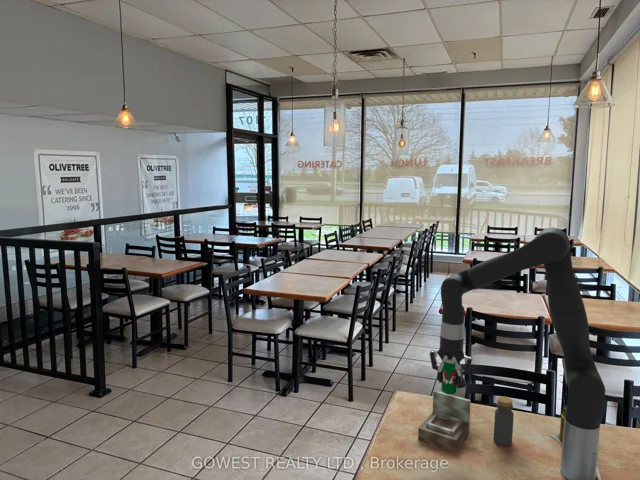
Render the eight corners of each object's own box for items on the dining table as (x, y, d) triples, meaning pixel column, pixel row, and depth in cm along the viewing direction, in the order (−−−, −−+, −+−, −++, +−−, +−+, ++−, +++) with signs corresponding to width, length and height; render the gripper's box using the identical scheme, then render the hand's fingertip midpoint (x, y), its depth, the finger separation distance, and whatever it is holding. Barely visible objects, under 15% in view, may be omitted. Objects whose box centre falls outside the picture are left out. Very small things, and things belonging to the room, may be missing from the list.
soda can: (458, 390, 159) (460, 356, 157) (454, 396, 155) (456, 361, 153) (443, 386, 161) (445, 353, 160) (439, 392, 157) (441, 358, 155)
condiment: (568, 449, 154) (571, 415, 153) (549, 435, 162) (551, 403, 161) (586, 445, 157) (589, 411, 155) (566, 432, 165) (569, 400, 163)
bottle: (513, 447, 156) (516, 404, 153) (494, 445, 157) (497, 402, 155) (510, 437, 161) (512, 396, 159) (492, 435, 162) (494, 394, 160)
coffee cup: (439, 418, 174) (441, 379, 172) (440, 406, 182) (442, 369, 180) (465, 422, 171) (467, 383, 169) (465, 410, 180) (466, 372, 178)
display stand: (469, 432, 164) (470, 400, 163) (455, 451, 153) (457, 417, 151) (433, 421, 172) (434, 390, 170) (418, 439, 160) (419, 405, 159)
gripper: (427, 334, 155) (425, 383, 157) (473, 342, 149) (469, 392, 151) (432, 328, 161) (430, 375, 164) (476, 334, 155) (473, 383, 158)
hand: (449, 383), depth 158 cm, fingers closed on soda can, 5 cm apart
